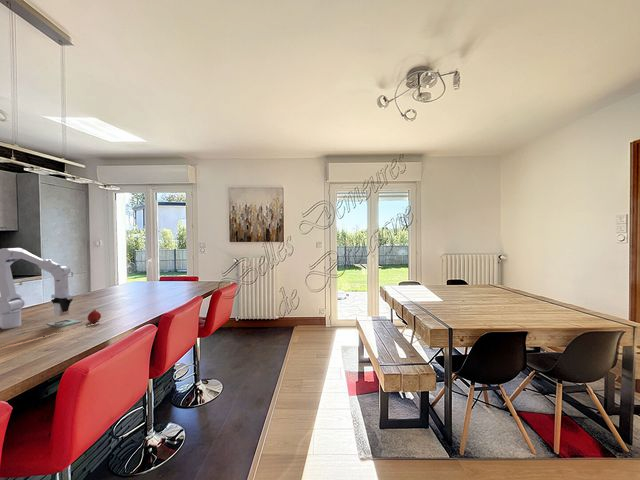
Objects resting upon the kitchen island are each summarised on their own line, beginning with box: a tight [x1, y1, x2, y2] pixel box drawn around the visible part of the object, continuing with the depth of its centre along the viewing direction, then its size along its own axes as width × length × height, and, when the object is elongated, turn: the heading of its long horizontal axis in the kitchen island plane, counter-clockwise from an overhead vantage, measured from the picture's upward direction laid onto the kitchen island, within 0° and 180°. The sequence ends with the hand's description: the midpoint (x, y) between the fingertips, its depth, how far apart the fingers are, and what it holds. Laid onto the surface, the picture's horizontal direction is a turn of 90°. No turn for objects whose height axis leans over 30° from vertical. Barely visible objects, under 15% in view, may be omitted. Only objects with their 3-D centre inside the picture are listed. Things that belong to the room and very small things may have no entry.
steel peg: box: [53, 302, 70, 317], centre depth 152 cm, size 4×4×7 cm
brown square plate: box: [19, 324, 51, 333], centre depth 144 cm, size 9×9×1 cm
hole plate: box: [45, 318, 83, 328], centre depth 152 cm, size 14×10×2 cm
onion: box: [87, 308, 102, 324], centre depth 154 cm, size 6×6×8 cm
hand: (62, 311), depth 153 cm, fingers closed on steel peg, 4 cm apart
